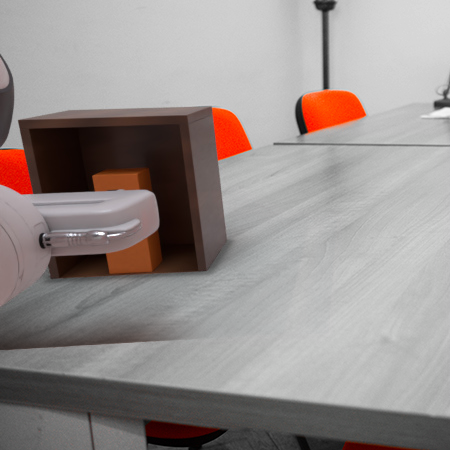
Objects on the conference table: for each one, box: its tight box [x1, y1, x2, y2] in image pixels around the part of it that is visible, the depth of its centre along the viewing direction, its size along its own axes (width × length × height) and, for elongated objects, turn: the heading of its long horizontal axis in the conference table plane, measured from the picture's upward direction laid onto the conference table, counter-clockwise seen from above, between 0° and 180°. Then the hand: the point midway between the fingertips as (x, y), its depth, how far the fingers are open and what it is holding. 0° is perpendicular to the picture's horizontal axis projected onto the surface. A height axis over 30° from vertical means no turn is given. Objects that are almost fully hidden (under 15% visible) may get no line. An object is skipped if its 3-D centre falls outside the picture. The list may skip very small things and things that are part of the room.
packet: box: [92, 168, 162, 274], centre depth 69 cm, size 5×4×12 cm
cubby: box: [17, 105, 228, 280], centre depth 71 cm, size 18×12×20 cm, turn 95°
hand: (67, 199), depth 54 cm, fingers open, 8 cm apart
